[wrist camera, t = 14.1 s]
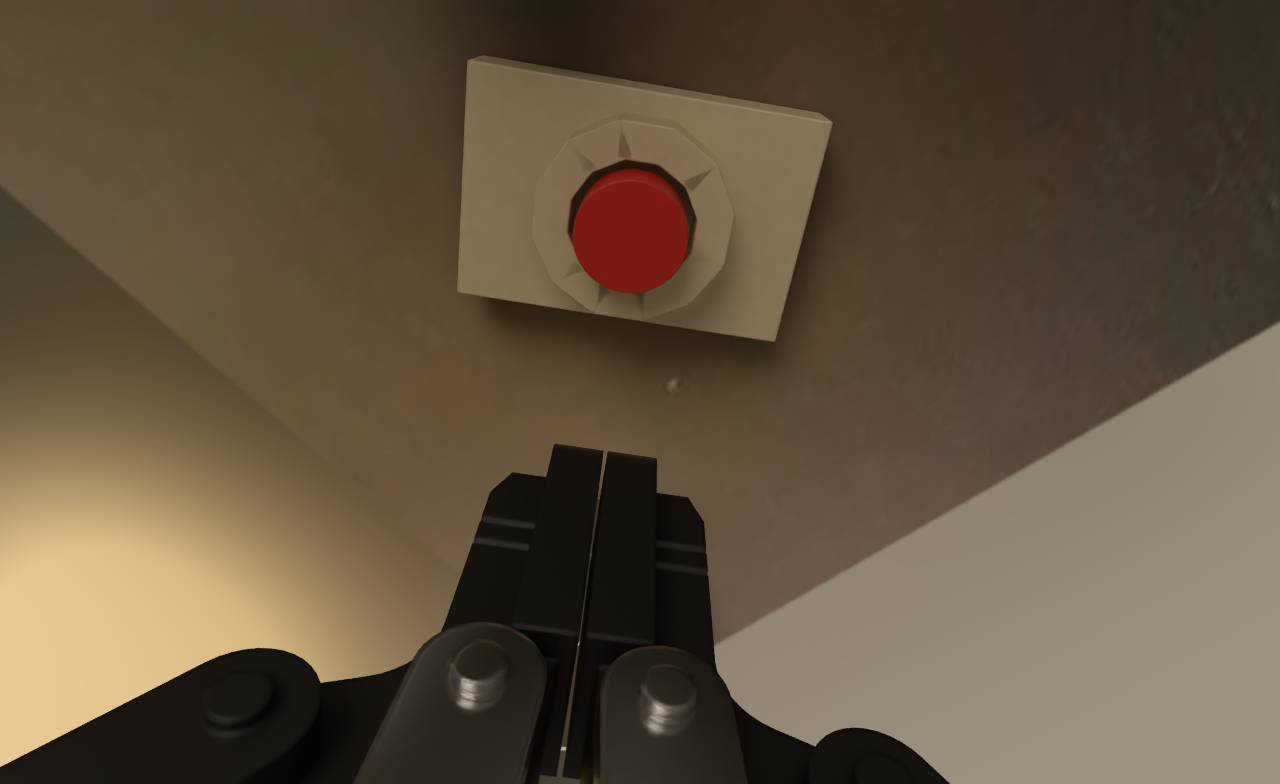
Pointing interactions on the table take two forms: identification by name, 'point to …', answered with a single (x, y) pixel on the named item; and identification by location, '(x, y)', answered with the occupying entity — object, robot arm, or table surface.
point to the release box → (641, 139)
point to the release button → (631, 231)
